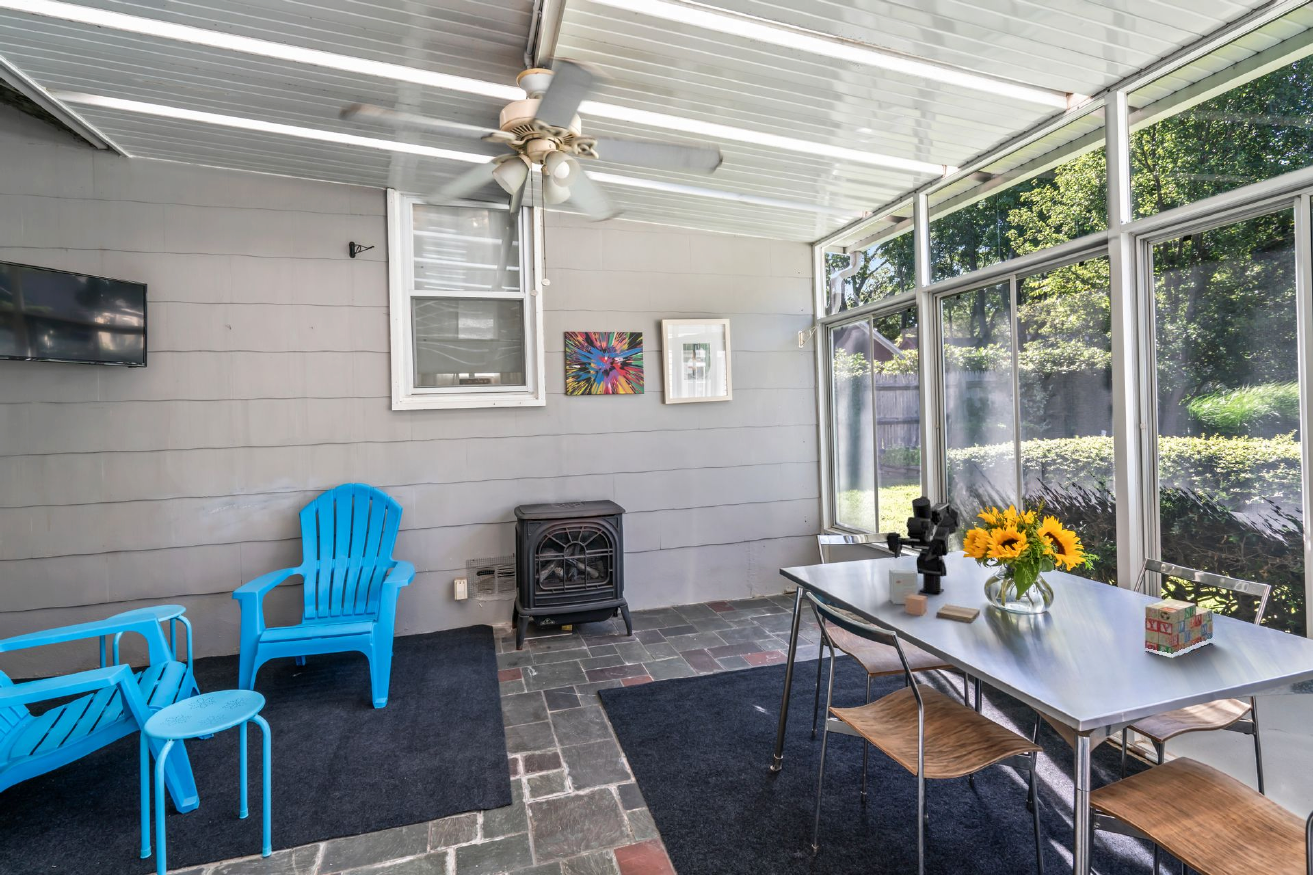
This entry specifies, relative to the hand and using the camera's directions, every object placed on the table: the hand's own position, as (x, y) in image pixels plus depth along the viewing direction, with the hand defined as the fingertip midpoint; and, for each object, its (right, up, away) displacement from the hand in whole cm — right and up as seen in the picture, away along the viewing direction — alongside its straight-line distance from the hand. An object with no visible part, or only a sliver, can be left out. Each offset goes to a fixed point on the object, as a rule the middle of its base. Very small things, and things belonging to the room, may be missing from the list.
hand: (909, 558), depth 208 cm
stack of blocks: (+57, -17, -36) cm, 70 cm away
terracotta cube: (+1, -17, -2) cm, 17 cm away
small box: (+1, -17, +10) cm, 19 cm away
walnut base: (+13, -17, -6) cm, 22 cm away
